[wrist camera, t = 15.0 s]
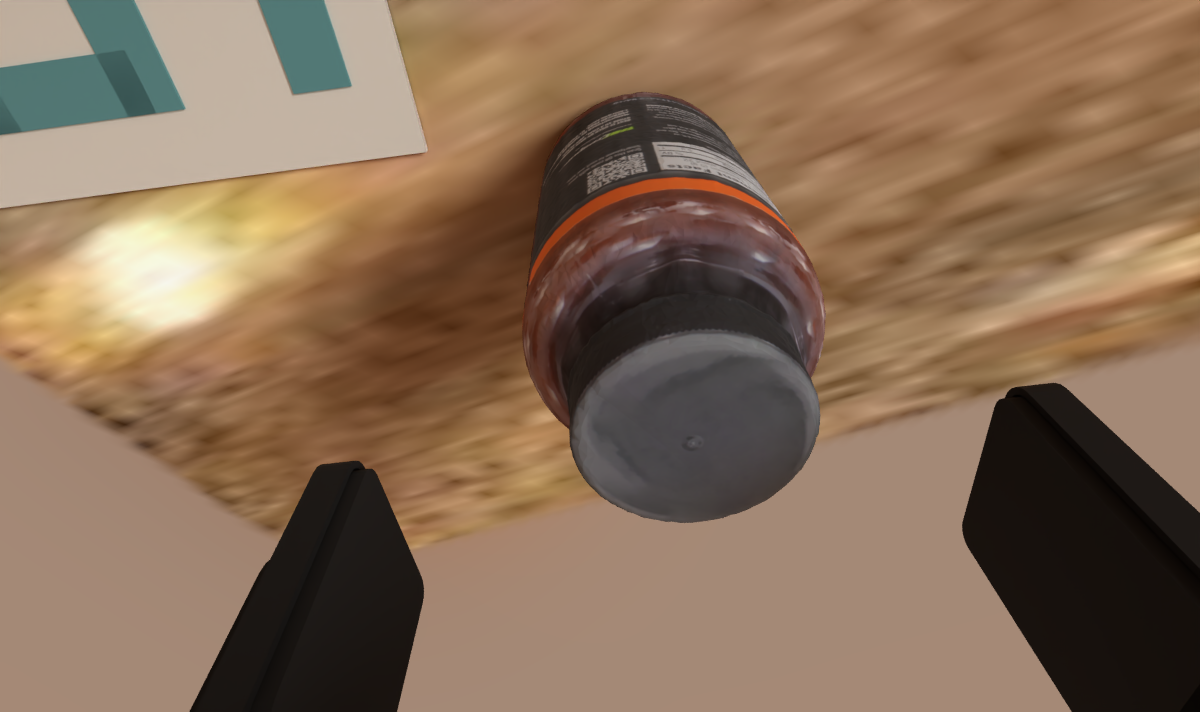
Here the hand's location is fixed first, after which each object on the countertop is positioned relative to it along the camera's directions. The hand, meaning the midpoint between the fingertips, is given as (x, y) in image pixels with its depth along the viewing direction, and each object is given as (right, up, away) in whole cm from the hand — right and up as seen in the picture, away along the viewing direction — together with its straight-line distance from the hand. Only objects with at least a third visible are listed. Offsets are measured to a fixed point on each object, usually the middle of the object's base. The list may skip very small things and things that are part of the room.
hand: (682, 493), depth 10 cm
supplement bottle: (0, +7, +10) cm, 12 cm away
